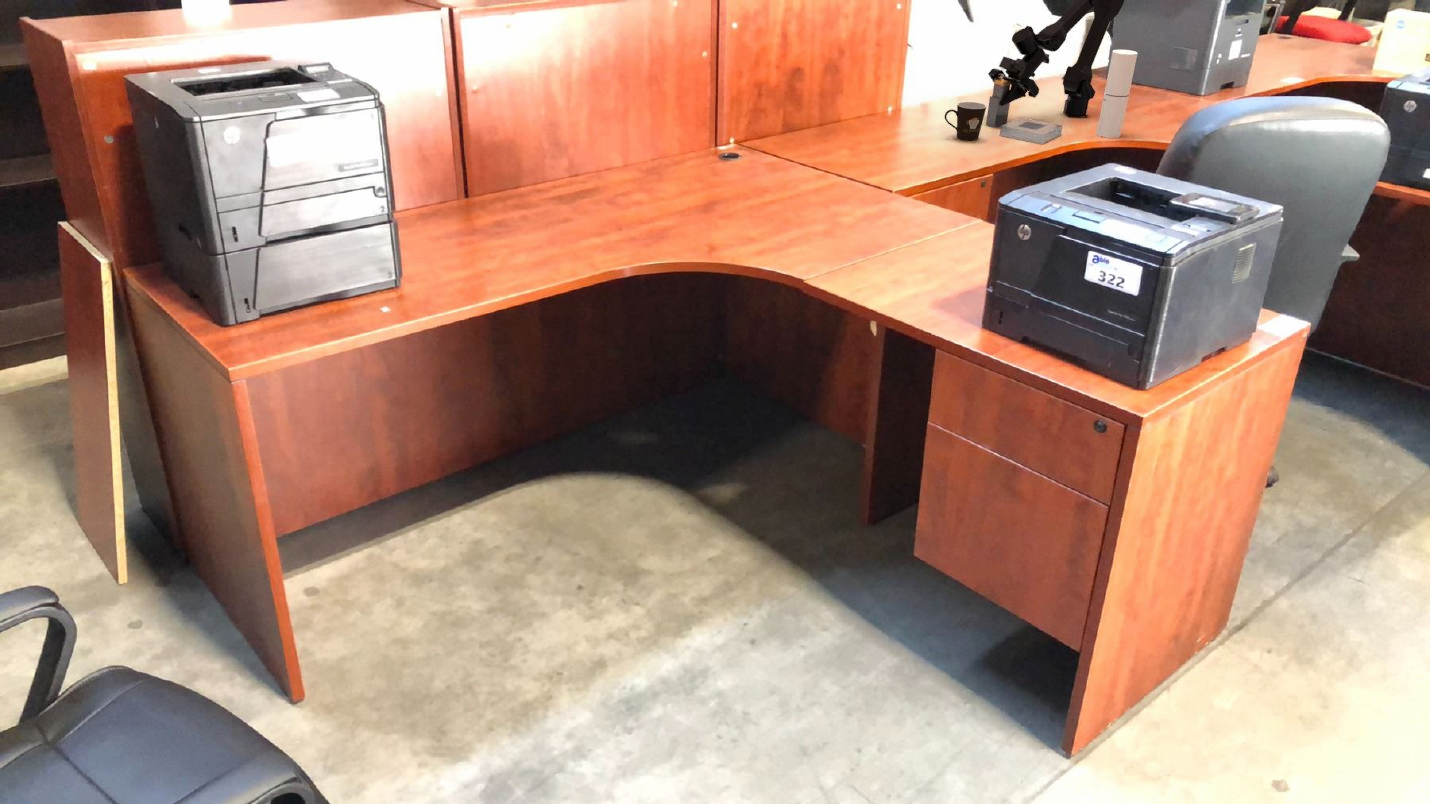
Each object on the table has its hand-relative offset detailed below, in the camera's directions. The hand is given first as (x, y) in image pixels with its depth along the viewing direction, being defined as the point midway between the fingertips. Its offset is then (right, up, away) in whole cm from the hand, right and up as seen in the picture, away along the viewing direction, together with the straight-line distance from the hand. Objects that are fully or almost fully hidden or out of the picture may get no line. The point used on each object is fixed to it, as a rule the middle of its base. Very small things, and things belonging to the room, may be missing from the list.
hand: (995, 103), depth 328 cm
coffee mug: (-13, -13, -9) cm, 21 cm away
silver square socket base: (+9, -11, -5) cm, 16 cm away
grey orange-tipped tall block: (+1, -6, +4) cm, 7 cm away
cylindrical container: (+34, -11, -3) cm, 36 cm away
